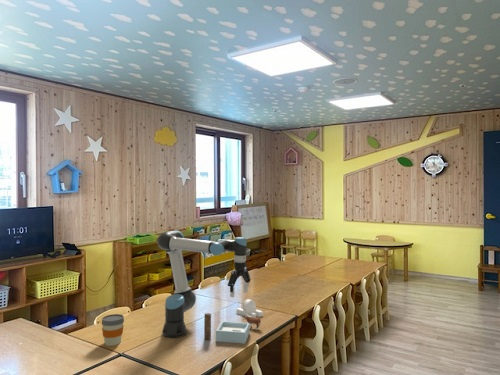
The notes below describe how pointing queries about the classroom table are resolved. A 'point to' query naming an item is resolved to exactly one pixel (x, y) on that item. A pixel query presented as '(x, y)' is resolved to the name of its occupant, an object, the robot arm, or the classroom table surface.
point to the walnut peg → (207, 326)
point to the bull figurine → (253, 320)
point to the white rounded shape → (249, 309)
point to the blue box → (232, 332)
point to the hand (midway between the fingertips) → (239, 294)
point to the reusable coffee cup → (112, 329)
